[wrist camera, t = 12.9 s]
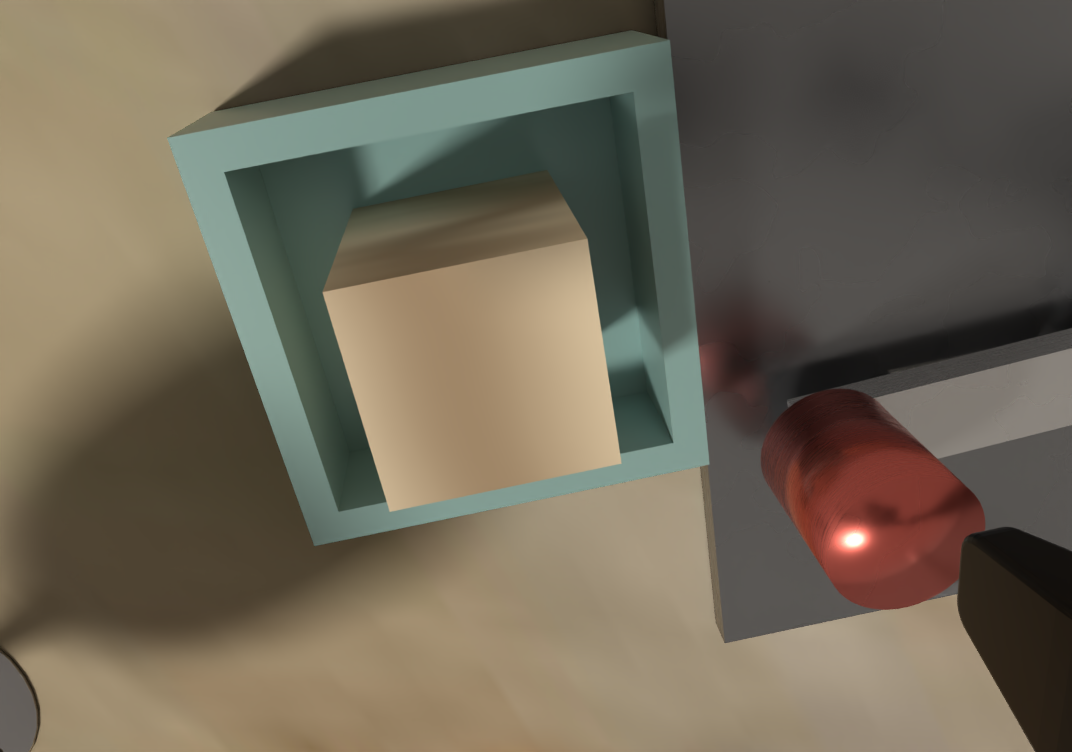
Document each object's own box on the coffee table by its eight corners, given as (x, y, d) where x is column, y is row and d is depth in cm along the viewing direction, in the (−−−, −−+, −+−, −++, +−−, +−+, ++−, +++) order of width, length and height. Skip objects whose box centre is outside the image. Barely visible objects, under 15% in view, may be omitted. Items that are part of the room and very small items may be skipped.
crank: (1207, 258, 19) (1434, 340, 15) (1190, 380, 20) (1392, 488, 16) (733, 377, 19) (821, 495, 15) (748, 491, 20) (832, 629, 16)
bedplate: (1420, -196, 16) (1473, -206, 15) (1243, 511, 24) (1272, 530, 23) (649, -47, 16) (660, -49, 15) (715, 622, 23) (726, 646, 23)
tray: (631, 30, 17) (669, 40, 14) (673, 399, 20) (709, 464, 17) (212, 112, 16) (167, 137, 14) (330, 469, 20) (314, 546, 17)
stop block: (547, 169, 17) (587, 238, 12) (577, 346, 19) (621, 463, 14) (353, 208, 17) (322, 291, 12) (401, 383, 19) (389, 511, 14)
